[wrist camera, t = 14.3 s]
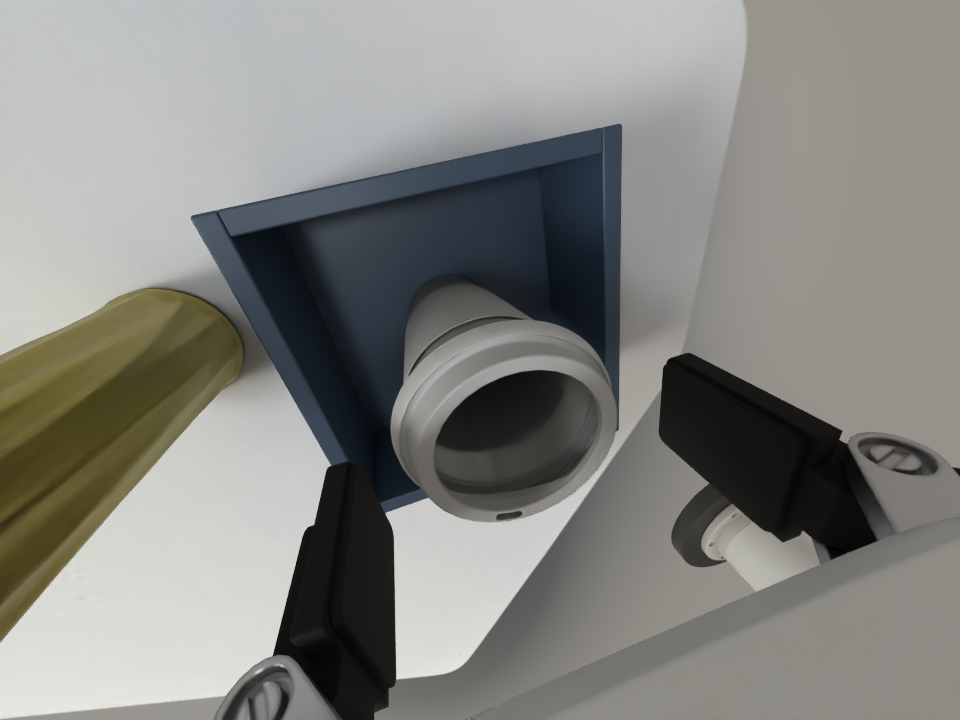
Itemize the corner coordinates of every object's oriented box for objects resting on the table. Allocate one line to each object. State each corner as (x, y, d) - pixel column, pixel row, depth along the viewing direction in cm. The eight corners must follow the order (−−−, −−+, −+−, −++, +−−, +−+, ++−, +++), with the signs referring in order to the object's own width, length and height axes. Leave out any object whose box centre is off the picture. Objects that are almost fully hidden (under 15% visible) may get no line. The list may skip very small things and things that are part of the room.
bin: (543, 145, 18) (623, 122, 12) (563, 374, 25) (619, 430, 19) (258, 207, 16) (187, 216, 10) (366, 437, 23) (362, 521, 17)
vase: (65, 332, 16) (-961, 792, 4) (169, 262, 16) (-543, 502, 4) (182, 414, 19) (-174, 815, 7) (271, 355, 19) (69, 658, 7)
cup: (385, 366, 20) (391, 549, 10) (385, 250, 17) (392, 336, 7) (498, 364, 22) (601, 516, 12) (513, 260, 19) (667, 339, 9)
